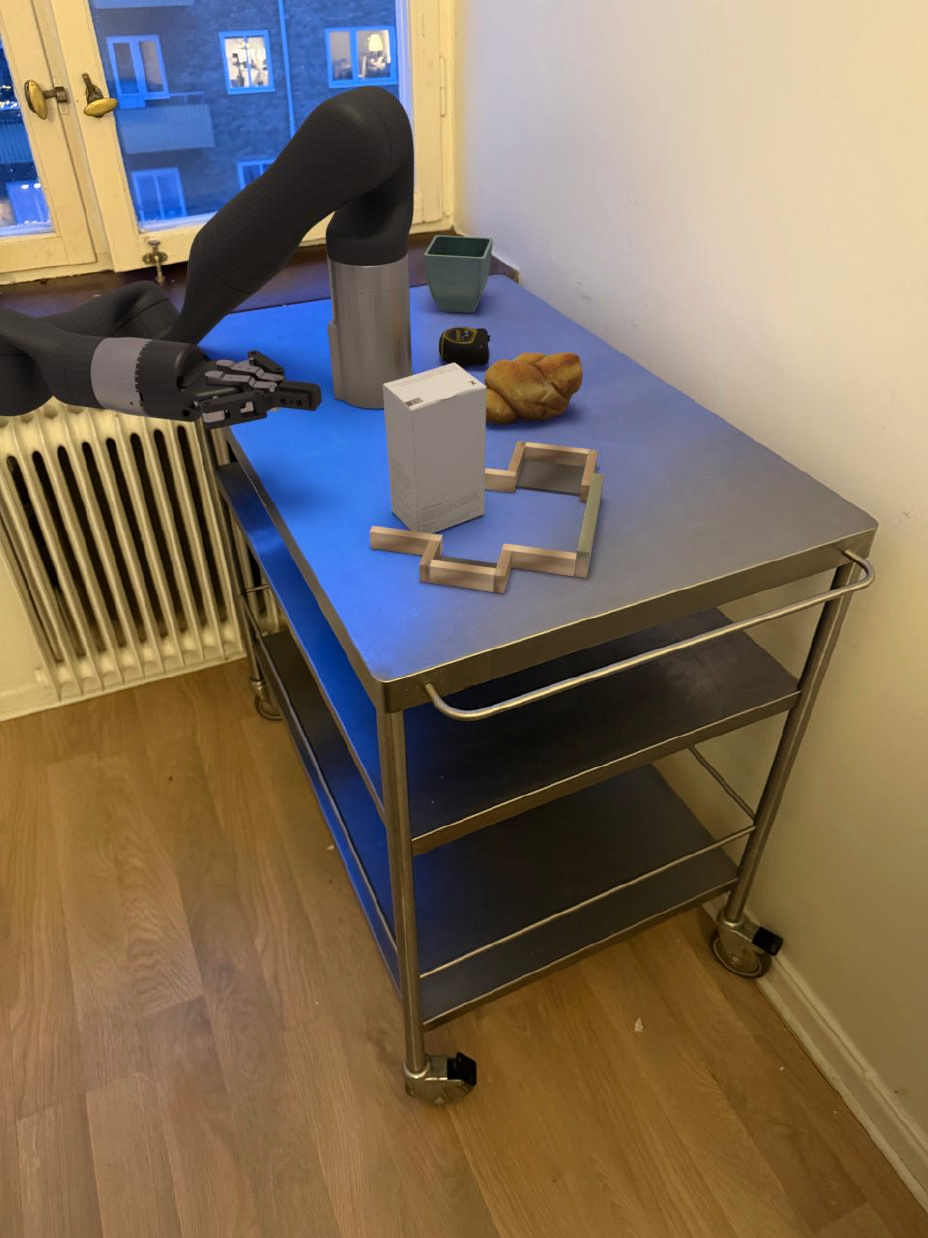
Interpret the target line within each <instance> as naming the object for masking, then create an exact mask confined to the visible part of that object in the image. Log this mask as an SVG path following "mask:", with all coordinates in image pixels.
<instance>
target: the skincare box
mask: <svg viewBox="0 0 928 1238" xmlns="http://www.w3.org/2000/svg"><path fill="white" fill-rule="evenodd" d="M486 391H487V387H486V386H485V385H484V383H482V382H481V381H480V380H478V379H477V378H476V377H475V376H473V375H471V373H468V372H467V371H466V370H465V369H464V368H463V367H460V366H459V365H457V364H456V363H451V364H446V365H441V366H439V367H438V366H437V367H435V368H432V369H429V370H425V371H423V372H420V373H416V374H413V375H412V376H409V377H406V378H402V379H399V380H395V381H392V382H388V383H385V384H383V398H384V408H383V409H384V410H383V411H384V423H385V425H384V426H385V433H386V435H385V436H386V449H387V460H388V463H387V464H388V475H389V476H388V477H389V487H390V503H391V511H392V512H393V514H394V515H395V516H396V517H397V518H398V519H399V520H400V521H401V522H402V523H403V524H404V525H405V527H407V529H409V531H415V532H422V533H430V534H436V533H437V532H441V531H443V530H445V529H448V528H451V527H454V526H456V525H459V524H462V523H464V522H466V521H469V520H472V519H475V518H477V517H480V516H482V515H485V503H486V502H485V497H486V496H485V494H486V491H485V490H486V489H485V468H486V435H487V434H486V429H487V428H486V423H487V421H486Z"/></svg>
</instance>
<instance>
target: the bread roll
mask: <svg viewBox="0 0 928 1238" xmlns="http://www.w3.org/2000/svg"><path fill="white" fill-rule="evenodd" d="M583 374H584V371H583V365H582V361H581V357H580V356H579V354H577V353H572V352H567V351H564V352H557V353H553V354H549V355H546V354H545V353H542V352H526V351H523V352H522V353H520V354H519V355H518V356H517V357H515V358H514V359H511V360H509V359H500V360H498V361H496V362H494V363H493V364H491V365H490V366H489V368H488V369H486V371H485V374H484V380H483V384H484V385H485V386H486V387H487V391H486V423H491V424H494V425H503V426H504V425H510V424H514V423H516V422H519V421H525V422H545V421H549V420H552V419H554V418H556V417H558V416H561V415H562V414H563V413H565V411H566V410H567V408H568V406H569V404H570V403H571V399H572V397H573V395H575V394H576V393H578V392H579V390H580V388H581V386H582V383H583V377H584V375H583Z"/></svg>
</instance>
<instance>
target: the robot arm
mask: <svg viewBox="0 0 928 1238" xmlns="http://www.w3.org/2000/svg"><path fill="white" fill-rule="evenodd" d="M413 136H414V135H413V130H412V126H411V121H410V119H409V115H408V113H407V111H406V109H405V108H404V106H403V104H402V102H401V101H400V100H399V99H398V98H397V97H396V96H395V95H394V94H393V93H392V92H390V90H387V89H386V88H384V87H381V86H377V85H362V86H359V87H358V86H357V87H356V88H353V89H350V90H347V91H344V92H342V93H339V94H336V95H334V96H332V97H330V98H327V99H325V100H323V101H321V103H320V104H319V105H317V106H316V107H315V108H314V109H313V110H312V111H311V113H309V114H308V116H307V117H306V119H305V120H304V121H303V122H302V124H301V125H300V127H299V128H298V129H297V131H296V132H295V133H294V135H293V136H292V137H291V139H290V140H289V141H288V142H287V144H286V145H285V146H284V148H283V149H282V151H281V152H280V153H279V154H278V155H277V157H276V158H275V160H274V161H273V162H272V163H271V164H270V166H269V167H267V169H265V171H264V172H262V174H260V176H258V177H257V178H255V179H254V180H252V181H251V182H250V183H249V184H247V185H246V186H245V187H244V188H242V189H241V190H240V191H239V192H238V193H237V194H235V195H234V196H233V197H232V198H231V199H230V200H229V201H228V202H227V203H225V204H224V205H223V206H222V207H221V208H220V209H219V210H218V211H217V212H216V213H215V214H214V215H213V216H212V217H211V218H210V219H209V220H207V222H206V223H205V224H204V225H203V226H202V227H201V228H200V229H199V230H198V231H197V233H196V235H195V236H194V238H193V241H192V243H191V244H190V245H191V246H190V249H189V255H188V261H187V268H186V276H185V277H186V278H185V279H186V280H185V294H184V301H183V303H182V304H183V305H182V307H181V311H179V310H178V309H177V307H176V306H175V305H174V303H173V302H172V300H171V299H170V298H169V296H168V295H167V293H166V292H165V291H164V290H163V288H161V287H160V286H159V284H157V283H156V282H154V281H151V280H139V281H134V282H131V283H129V284H125V285H124V286H123V285H122V286H121V287H118V288H116V289H115V290H111V291H110V292H107V293H105V294H103V295H101V296H98V297H96V298H94V299H92V300H89V301H88V302H86V303H84V304H82V305H80V306H78V307H76V308H74V309H70V310H67V311H65V312H63V311H62V312H59V313H54V314H49V315H44V316H39V317H35V318H34V317H32V316H30V315H28V314H25V313H22V312H20V311H17V310H14V309H11V308H7V307H2V306H0V417H19V416H23V415H26V414H30V413H32V412H34V411H36V410H38V409H39V408H41V407H42V406H44V405H45V404H47V403H48V402H49V401H50V400H51V399H52V398H53V397H54V399H56V400H57V401H59V402H61V403H63V404H64V405H65V404H66V405H68V406H75V407H84V408H89V409H98V410H99V409H100V410H107V411H108V410H109V411H114V412H117V413H120V414H123V415H124V414H125V415H127V416H129V415H130V416H135V417H145V418H151V419H161V420H169V421H176V422H177V421H178V422H185V423H194V422H197V421H199V420H200V419H201V418H202V420H203V424H204V428H205V430H216V429H219V428H220V429H221V428H225V427H230V426H235V425H236V426H237V425H240V424H245V423H251V422H255V421H260V420H264V419H266V418H267V417H268V412H278V411H279V410H280V409H281V408H283V409H291V410H292V409H293V410H302V411H311V412H315V411H317V410H318V408H319V407H320V406H321V404H322V402H323V396H322V389H321V386H320V384H318V383H315V382H305V381H300V380H299V381H297V380H296V381H295V380H289V379H286V375H285V368H284V367H283V366H281V365H280V364H278V363H277V362H276V361H274V360H273V359H272V358H269V357H268V356H267V355H265V354H264V353H263V352H260V350H255V349H254V350H249V351H248V352H247V359H244V360H242V361H239V362H236V361H235V360H233V359H229V358H227V359H226V358H225V359H214V360H213V359H211V358H210V357H209V356H208V355H207V354H206V352H205V351H204V349H202V348H201V347H200V346H199V344H200V343H201V342H202V340H204V338H205V337H206V336H207V335H208V334H209V333H210V332H211V331H212V330H213V329H214V328H216V326H217V325H218V324H219V323H221V322H222V321H223V319H225V318H226V317H227V316H228V315H229V314H230V313H232V312H233V311H234V310H236V309H237V308H238V307H239V306H241V305H242V304H243V303H244V302H246V301H247V300H248V299H249V298H250V297H252V296H253V295H255V294H256V293H257V292H259V291H260V290H261V289H262V288H263V287H264V286H265V285H267V284H268V283H269V282H270V281H271V280H272V279H273V278H275V277H276V276H277V275H278V274H279V273H280V272H281V271H282V270H283V269H284V268H285V267H286V266H287V265H288V263H289V262H290V261H291V259H292V258H293V257H294V255H295V254H296V252H297V250H298V248H299V246H300V245H301V243H302V241H303V239H304V238H305V237H306V235H307V234H308V233H309V232H310V231H311V230H312V229H313V228H315V226H317V225H318V224H319V223H320V222H322V221H323V220H324V219H326V218H327V217H329V216H330V215H332V216H331V218H330V220H329V222H328V224H327V225H326V228H325V247H326V248H325V249H326V257H327V258H326V259H327V268H328V278H329V280H328V281H329V289H330V298H331V299H330V300H331V311H332V319H330V321H329V322H328V323H327V335H328V346H329V354H330V355H329V356H330V357H329V358H330V366H331V376H332V378H331V379H332V387H333V388H332V389H333V396H334V399H336V400H342V401H344V402H345V403H347V404H349V405H351V406H353V407H354V406H355V407H358V408H363V409H384V398H383V384H385V383H388V382H392V381H395V380H399V379H402V378H406V377H409V376H412V375H414V374H413V364H412V363H413V358H412V357H413V355H412V330H411V329H412V327H411V326H412V325H411V322H412V321H411V301H410V300H411V299H410V298H411V296H410V295H411V294H410V293H411V292H410V269H409V267H410V265H409V262H410V261H409V236H410V235H409V234H410V231H411V228H412V224H413V219H414V213H415V212H414V209H415V208H414V207H415V204H414V203H415V145H414V137H413Z"/></svg>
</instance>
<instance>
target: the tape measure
mask: <svg viewBox="0 0 928 1238" xmlns="http://www.w3.org/2000/svg"><path fill="white" fill-rule="evenodd" d="M490 341H491V334H489V332H488V330H487V329H486V328H485V327H480V328H472V327H469V326H456V327H451V328H450V327H449V328H448V329H446V330H444V331H443V332H441V335H440V337H439V339H438V353H439V356H440V358H441V360H442V362H443V363H445V364H446V365H448V364H451V363H456V364H457V365H459V366H460V367H461V368H470V367H471V368H472V367H480V366H486V365H487V364H488V363H489V359H490V349H489V343H490Z"/></svg>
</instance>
